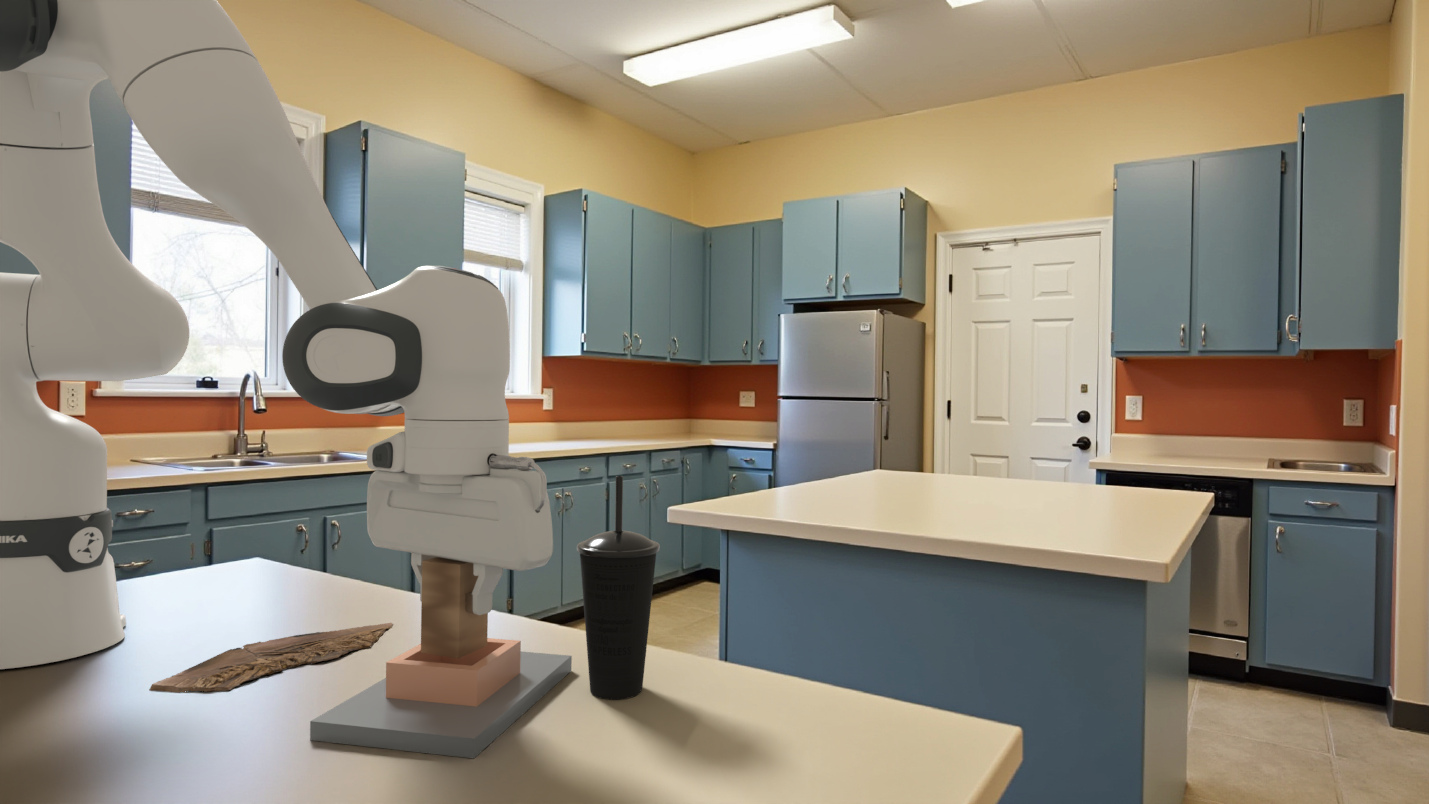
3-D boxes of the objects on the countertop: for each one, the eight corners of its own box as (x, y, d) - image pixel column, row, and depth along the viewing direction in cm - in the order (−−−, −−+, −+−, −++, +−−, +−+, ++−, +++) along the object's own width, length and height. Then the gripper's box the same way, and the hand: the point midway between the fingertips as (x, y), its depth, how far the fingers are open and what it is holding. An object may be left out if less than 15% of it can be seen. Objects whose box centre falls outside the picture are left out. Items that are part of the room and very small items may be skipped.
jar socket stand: (310, 740, 65) (310, 683, 64) (442, 659, 84) (443, 615, 84) (473, 758, 62) (474, 699, 62) (571, 670, 81) (572, 625, 81)
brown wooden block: (420, 652, 71) (422, 561, 71) (450, 640, 75) (452, 553, 75) (458, 658, 70) (460, 564, 70) (487, 645, 74) (488, 556, 74)
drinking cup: (596, 712, 71) (599, 482, 71) (561, 685, 77) (564, 474, 77) (672, 695, 75) (675, 478, 75) (633, 671, 82) (636, 470, 81)
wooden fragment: (181, 707, 71) (182, 695, 71) (125, 681, 77) (125, 669, 77) (429, 637, 93) (429, 628, 93) (370, 621, 99) (370, 612, 99)
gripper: (570, 456, 70) (568, 617, 70) (412, 445, 80) (410, 585, 80) (517, 460, 64) (514, 635, 64) (354, 448, 75) (352, 599, 75)
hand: (455, 607), depth 73 cm, fingers closed on brown wooden block, 4 cm apart
